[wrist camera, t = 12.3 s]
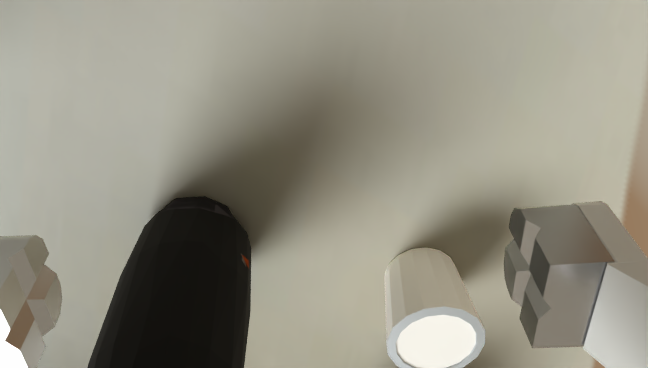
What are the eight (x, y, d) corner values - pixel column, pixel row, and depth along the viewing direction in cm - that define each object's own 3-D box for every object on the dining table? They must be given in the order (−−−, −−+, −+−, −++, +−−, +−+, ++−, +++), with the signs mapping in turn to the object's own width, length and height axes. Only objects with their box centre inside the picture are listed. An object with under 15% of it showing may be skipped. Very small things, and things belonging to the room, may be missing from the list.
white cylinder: (429, 225, 45) (448, 291, 39) (481, 277, 48) (505, 345, 42) (358, 273, 48) (365, 342, 42) (411, 319, 51) (425, 390, 45)
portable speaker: (251, 184, 43) (220, 434, 26) (260, 284, 48) (239, 545, 32) (127, 187, 43) (20, 441, 26) (150, 287, 48) (71, 551, 31)
